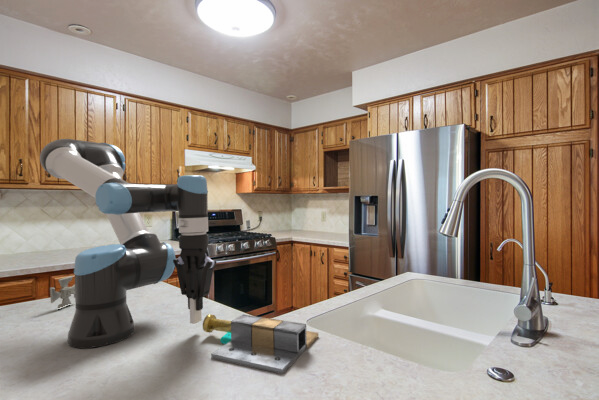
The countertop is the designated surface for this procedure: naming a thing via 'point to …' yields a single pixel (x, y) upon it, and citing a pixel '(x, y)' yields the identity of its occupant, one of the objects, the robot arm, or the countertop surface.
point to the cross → (63, 292)
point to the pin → (216, 324)
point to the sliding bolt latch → (265, 343)
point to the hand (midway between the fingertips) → (195, 321)
